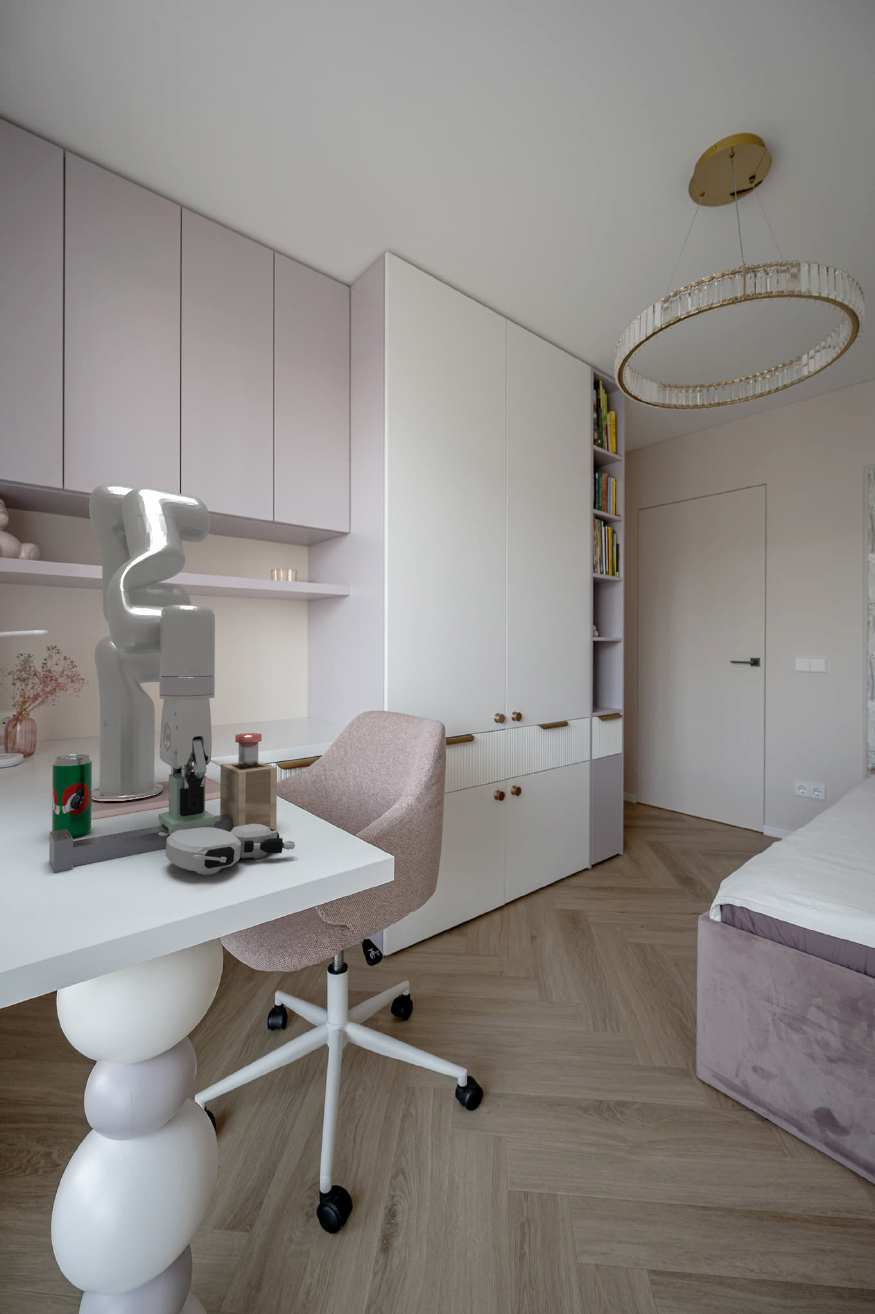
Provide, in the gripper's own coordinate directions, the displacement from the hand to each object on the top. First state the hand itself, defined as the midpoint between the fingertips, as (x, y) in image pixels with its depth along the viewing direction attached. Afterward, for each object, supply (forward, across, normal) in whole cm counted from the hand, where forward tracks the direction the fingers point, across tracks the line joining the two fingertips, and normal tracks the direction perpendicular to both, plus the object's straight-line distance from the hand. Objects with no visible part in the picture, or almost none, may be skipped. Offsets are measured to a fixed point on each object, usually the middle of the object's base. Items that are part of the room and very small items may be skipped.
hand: (186, 809), depth 84 cm
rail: (+5, 0, -4) cm, 6 cm away
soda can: (+5, -14, -13) cm, 20 cm away
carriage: (+4, 0, 0) cm, 4 cm away
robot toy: (+5, +12, +2) cm, 13 cm away
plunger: (-4, 0, +9) cm, 10 cm away
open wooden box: (+5, 0, +9) cm, 10 cm away
